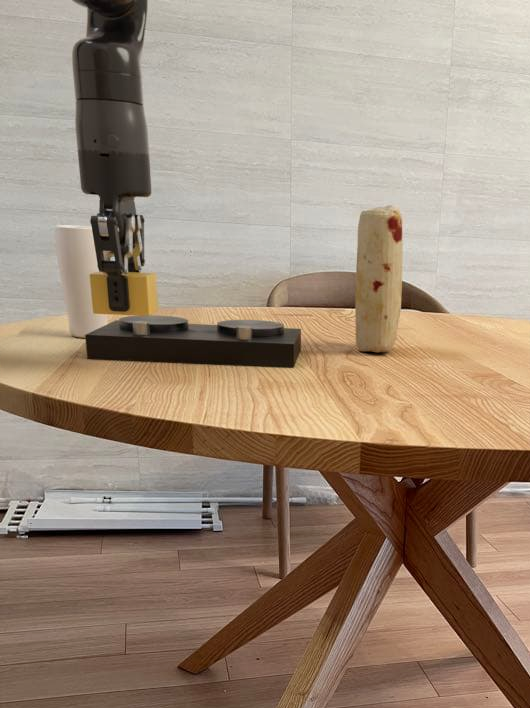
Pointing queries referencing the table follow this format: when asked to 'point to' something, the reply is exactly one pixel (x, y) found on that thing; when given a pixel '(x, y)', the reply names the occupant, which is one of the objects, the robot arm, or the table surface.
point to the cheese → (139, 294)
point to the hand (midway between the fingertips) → (125, 307)
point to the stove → (195, 342)
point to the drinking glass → (78, 277)
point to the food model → (378, 278)
